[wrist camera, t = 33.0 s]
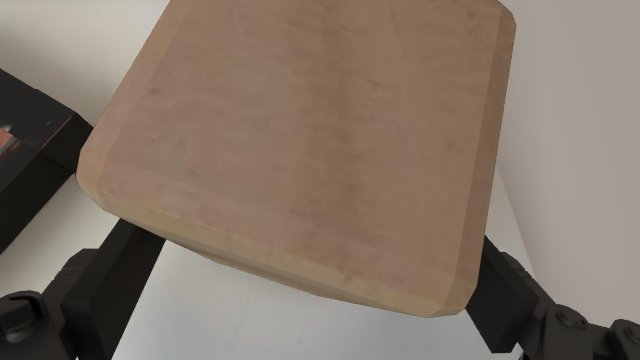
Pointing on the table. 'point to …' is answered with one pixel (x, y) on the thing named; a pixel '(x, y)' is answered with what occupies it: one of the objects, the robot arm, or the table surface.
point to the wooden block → (315, 142)
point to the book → (33, 152)
